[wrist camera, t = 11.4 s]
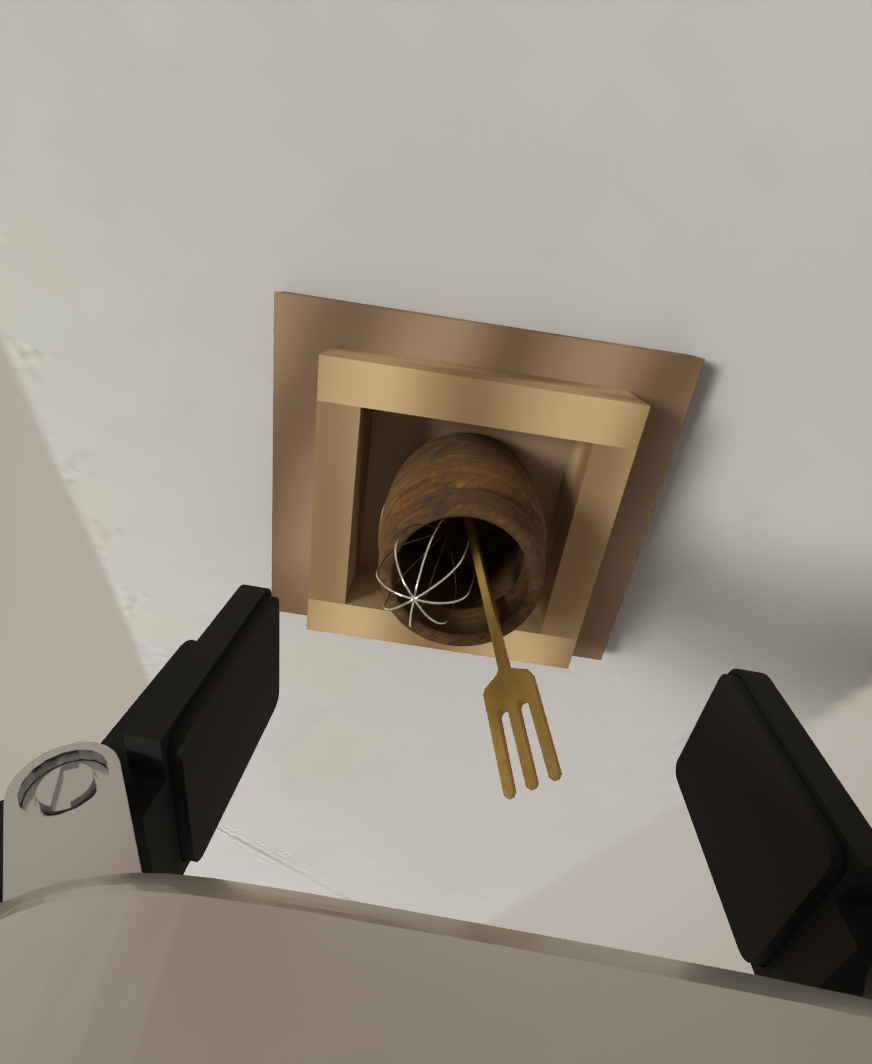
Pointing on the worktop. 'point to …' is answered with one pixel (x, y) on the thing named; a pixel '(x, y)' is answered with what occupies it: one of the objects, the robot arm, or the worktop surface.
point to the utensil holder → (471, 570)
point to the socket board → (475, 407)
